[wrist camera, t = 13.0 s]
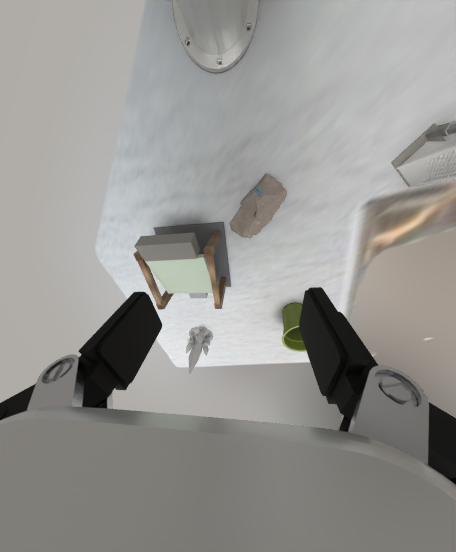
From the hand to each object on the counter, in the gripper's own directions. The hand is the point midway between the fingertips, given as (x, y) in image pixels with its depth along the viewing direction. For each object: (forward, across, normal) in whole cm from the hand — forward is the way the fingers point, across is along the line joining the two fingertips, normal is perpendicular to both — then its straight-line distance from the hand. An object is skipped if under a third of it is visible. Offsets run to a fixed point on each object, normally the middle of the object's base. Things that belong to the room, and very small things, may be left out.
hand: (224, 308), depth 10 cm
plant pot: (+34, -16, +34) cm, 51 cm away
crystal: (+35, +19, +47) cm, 61 cm away
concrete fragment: (+35, -3, +1) cm, 35 cm away
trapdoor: (+25, +14, +10) cm, 30 cm away
